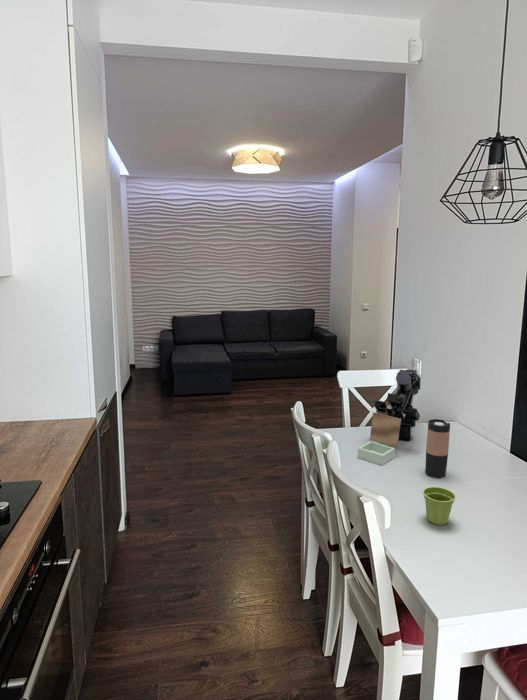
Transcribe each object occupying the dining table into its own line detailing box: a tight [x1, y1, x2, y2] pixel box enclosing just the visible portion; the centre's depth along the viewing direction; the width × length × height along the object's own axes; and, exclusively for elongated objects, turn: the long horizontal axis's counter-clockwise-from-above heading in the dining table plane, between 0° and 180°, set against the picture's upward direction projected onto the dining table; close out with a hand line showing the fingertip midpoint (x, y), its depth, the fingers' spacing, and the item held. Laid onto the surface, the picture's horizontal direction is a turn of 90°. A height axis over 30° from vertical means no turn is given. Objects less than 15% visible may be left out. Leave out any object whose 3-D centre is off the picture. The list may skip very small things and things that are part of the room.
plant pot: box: [422, 486, 457, 526], centre depth 143 cm, size 9×9×9 cm
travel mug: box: [424, 418, 451, 479], centre depth 172 cm, size 8×8×20 cm
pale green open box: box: [357, 440, 396, 466], centre depth 188 cm, size 10×11×4 cm
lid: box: [369, 412, 401, 449], centre depth 191 cm, size 12×12×1 cm
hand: (388, 427), depth 193 cm, fingers closed
